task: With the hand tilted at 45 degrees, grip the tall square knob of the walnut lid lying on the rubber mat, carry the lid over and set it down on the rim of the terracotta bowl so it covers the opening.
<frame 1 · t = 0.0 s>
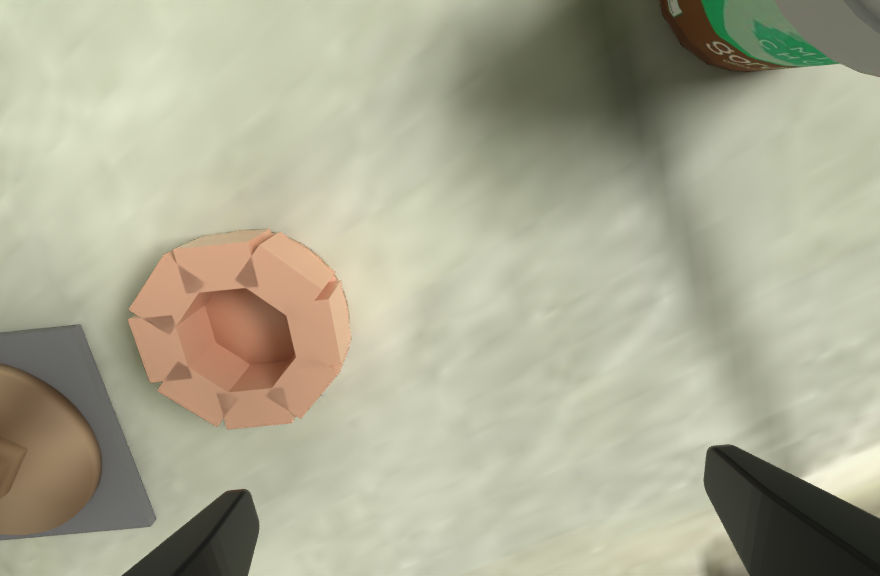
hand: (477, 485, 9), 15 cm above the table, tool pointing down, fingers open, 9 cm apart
food container: (751, 24, 20), on the table
walnut lid: (0, 447, 25), point 1 cm above the table, touching rubber mat
terracotta bowl: (262, 315, 23), on the table
rubber mat: (9, 440, 26), on the table
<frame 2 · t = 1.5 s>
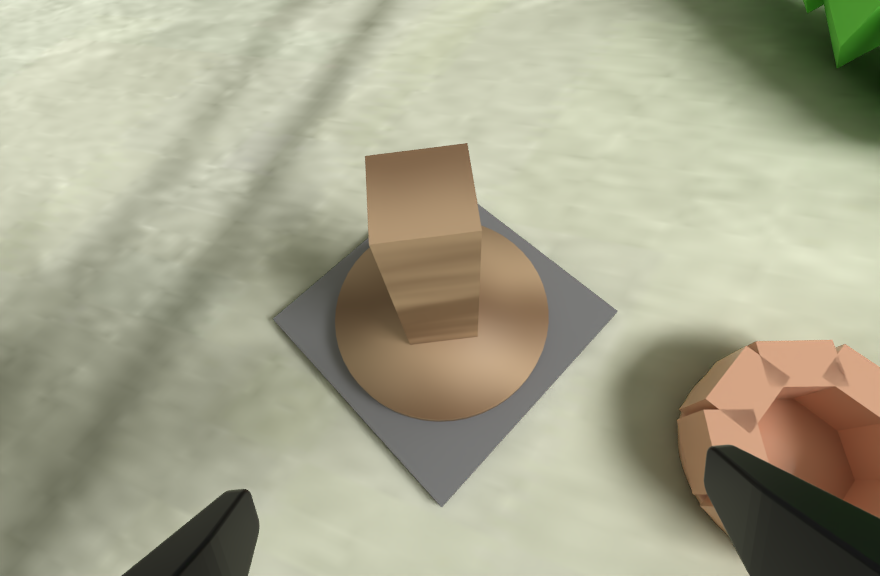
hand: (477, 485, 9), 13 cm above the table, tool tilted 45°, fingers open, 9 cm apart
walnut lid: (441, 315, 24), point 1 cm above the table, touching rubber mat
terracotta bowl: (780, 456, 21), on the table
rubber mat: (442, 319, 25), on the table
decorative tree: (856, 53, 31), on the table
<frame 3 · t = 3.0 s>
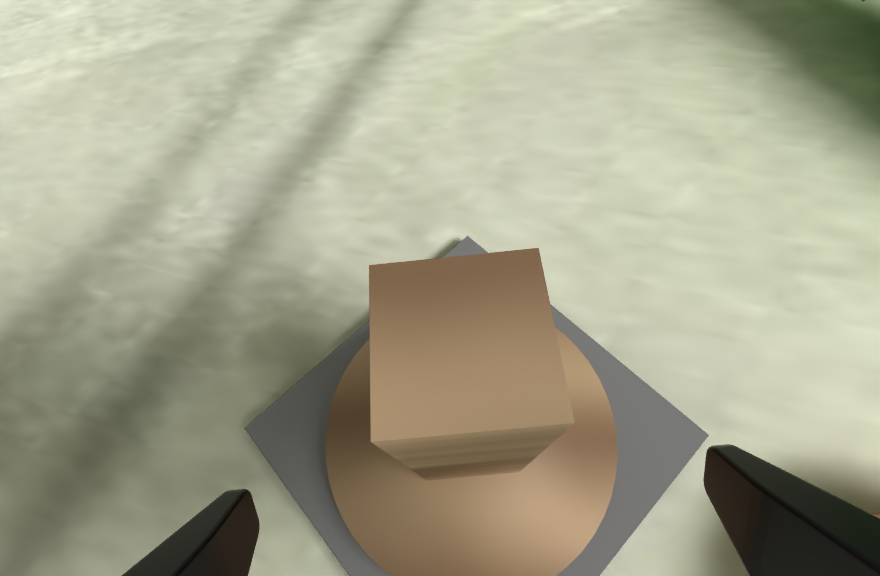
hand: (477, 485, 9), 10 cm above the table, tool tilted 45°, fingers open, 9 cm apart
walnut lid: (468, 431, 18), point 1 cm above the table, touching rubber mat
rubber mat: (468, 433, 18), on the table
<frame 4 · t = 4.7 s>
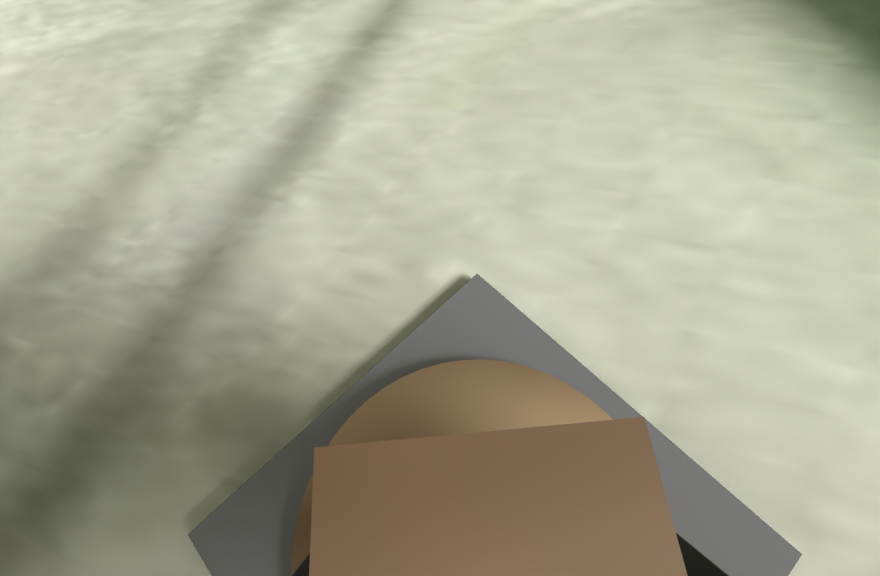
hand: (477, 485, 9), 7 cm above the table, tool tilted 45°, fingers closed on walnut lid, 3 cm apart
walnut lid: (480, 543, 14), point 1 cm above the table, touching gripper, rubber mat
rubber mat: (480, 542, 14), on the table
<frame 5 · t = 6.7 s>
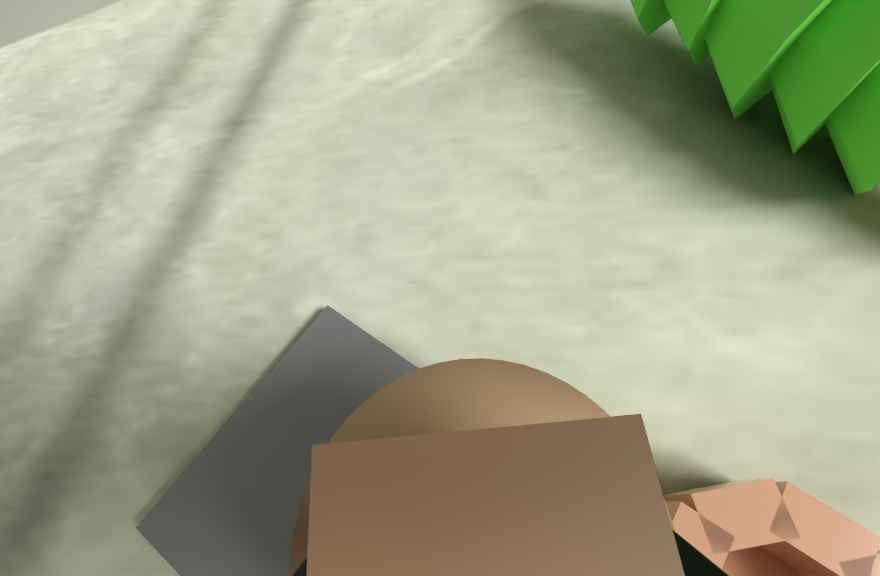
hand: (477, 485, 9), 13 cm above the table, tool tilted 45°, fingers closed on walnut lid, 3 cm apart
walnut lid: (479, 542, 14), point 7 cm above the table, touching gripper
rubber mat: (342, 490, 21), on the table
decorative tree: (751, 99, 30), on the table
when the fingers open (10 cm above the table, at t = 8.8 s): walnut lid drops 1 cm, resting on terracotta bowl.
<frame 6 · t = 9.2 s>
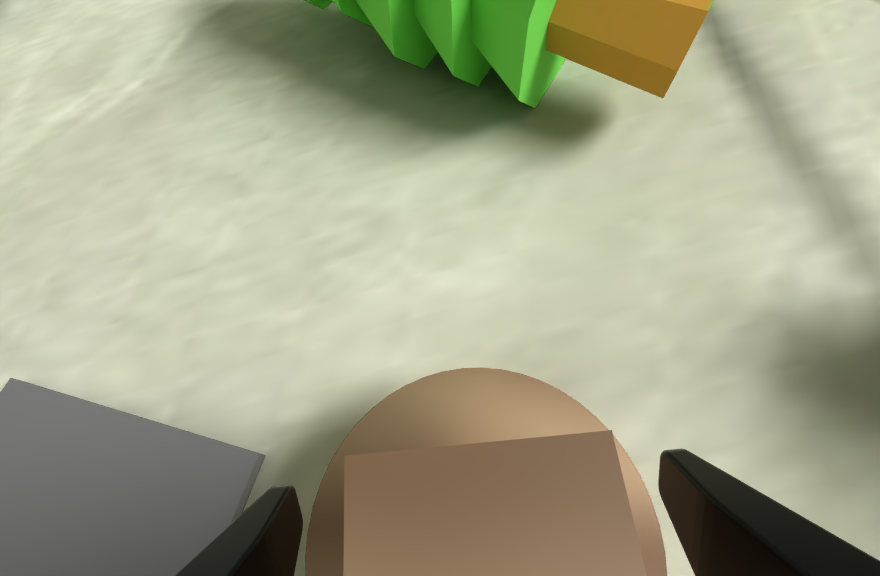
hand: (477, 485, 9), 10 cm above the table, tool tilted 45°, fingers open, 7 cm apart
walnut lid: (480, 539, 15), point 3 cm above the table, touching terracotta bowl
decorative tree: (439, 46, 30), on the table
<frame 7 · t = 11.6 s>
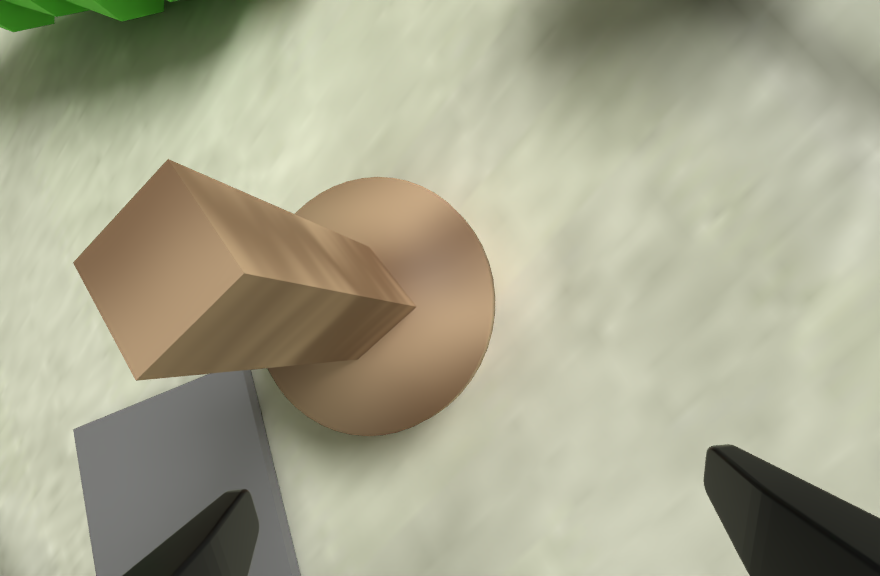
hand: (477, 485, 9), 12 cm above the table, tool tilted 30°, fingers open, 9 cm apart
walnut lid: (372, 304, 20), point 3 cm above the table, touching terracotta bowl
rubber mat: (183, 507, 26), on the table
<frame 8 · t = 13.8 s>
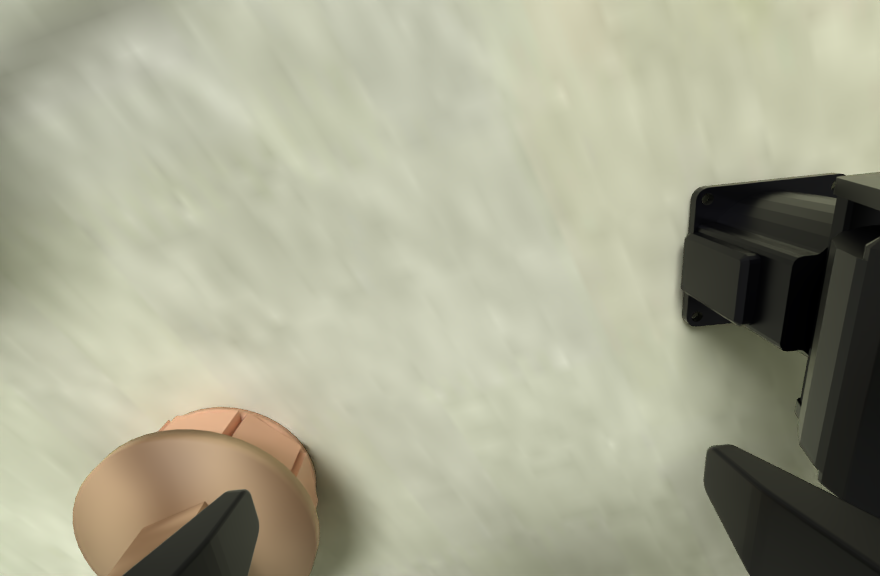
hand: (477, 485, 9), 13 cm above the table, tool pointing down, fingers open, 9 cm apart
walnut lid: (204, 526, 22), point 3 cm above the table, touching terracotta bowl
terracotta bowl: (233, 477, 25), on the table
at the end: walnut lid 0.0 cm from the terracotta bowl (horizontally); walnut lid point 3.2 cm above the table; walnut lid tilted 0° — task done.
